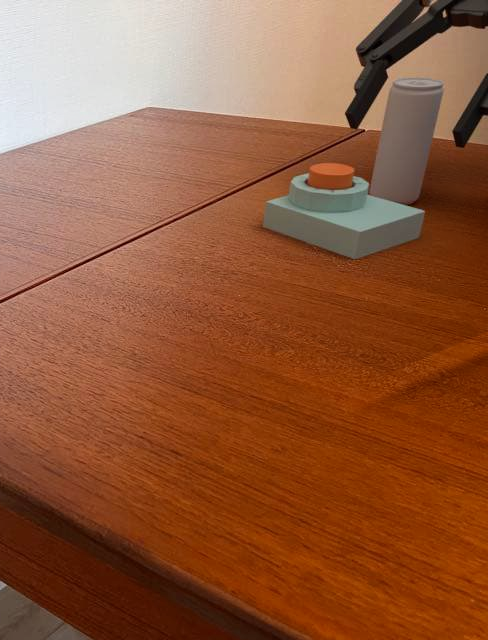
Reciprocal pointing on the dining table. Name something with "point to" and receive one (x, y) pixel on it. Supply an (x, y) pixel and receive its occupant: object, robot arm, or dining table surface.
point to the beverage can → (406, 139)
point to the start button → (330, 176)
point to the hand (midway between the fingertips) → (402, 130)
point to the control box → (342, 218)
